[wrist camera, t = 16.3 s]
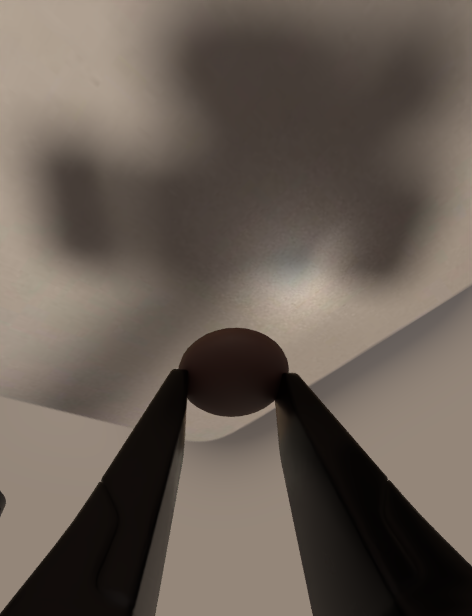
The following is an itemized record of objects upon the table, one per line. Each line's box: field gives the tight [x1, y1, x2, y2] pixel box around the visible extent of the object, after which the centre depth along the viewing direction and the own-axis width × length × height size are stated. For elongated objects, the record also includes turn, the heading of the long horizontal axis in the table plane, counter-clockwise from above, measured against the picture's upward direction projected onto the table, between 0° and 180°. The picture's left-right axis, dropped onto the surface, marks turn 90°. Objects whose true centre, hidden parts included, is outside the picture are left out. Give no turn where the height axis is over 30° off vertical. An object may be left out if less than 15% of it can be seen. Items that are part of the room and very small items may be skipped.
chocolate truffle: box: [179, 328, 289, 417], centre depth 10 cm, size 3×3×2 cm
